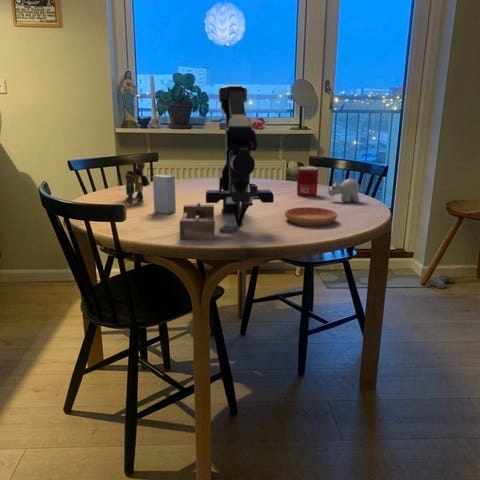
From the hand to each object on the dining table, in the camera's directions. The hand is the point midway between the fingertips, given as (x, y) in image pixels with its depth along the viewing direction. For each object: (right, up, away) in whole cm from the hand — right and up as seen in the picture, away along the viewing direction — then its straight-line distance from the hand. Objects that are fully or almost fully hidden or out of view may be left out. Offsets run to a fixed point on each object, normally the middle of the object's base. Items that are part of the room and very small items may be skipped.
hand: (239, 226), depth 130 cm
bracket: (-2, -1, +2) cm, 3 cm away
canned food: (+27, +14, +54) cm, 63 cm away
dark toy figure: (-38, +10, +38) cm, 55 cm away
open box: (-11, -1, 0) cm, 11 cm away
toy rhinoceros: (+39, +11, +43) cm, 59 cm away
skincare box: (-25, +5, +21) cm, 33 cm away
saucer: (+22, +2, +12) cm, 25 cm away
